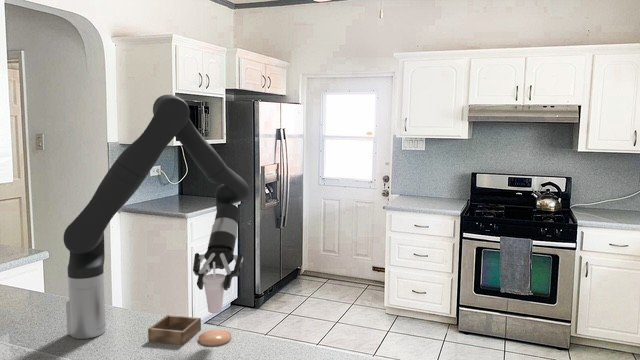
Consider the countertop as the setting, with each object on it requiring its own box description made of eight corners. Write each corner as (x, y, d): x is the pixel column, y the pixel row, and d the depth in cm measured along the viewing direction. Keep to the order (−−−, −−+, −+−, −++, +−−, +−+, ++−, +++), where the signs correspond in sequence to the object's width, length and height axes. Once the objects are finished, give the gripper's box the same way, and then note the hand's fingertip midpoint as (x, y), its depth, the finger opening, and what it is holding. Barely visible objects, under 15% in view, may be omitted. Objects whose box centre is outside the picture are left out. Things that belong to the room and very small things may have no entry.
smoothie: (203, 316, 135) (202, 265, 134) (202, 307, 142) (201, 259, 140) (227, 313, 137) (226, 263, 136) (225, 305, 143) (224, 257, 142)
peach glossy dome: (192, 344, 137) (192, 341, 136) (207, 331, 145) (207, 328, 145) (223, 347, 135) (223, 344, 135) (236, 333, 143) (236, 331, 143)
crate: (148, 341, 138) (148, 328, 138) (167, 326, 149) (167, 315, 148) (183, 344, 136) (183, 332, 136) (200, 329, 146) (200, 318, 146)
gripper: (196, 229, 145) (183, 281, 135) (245, 230, 144) (236, 283, 133) (202, 243, 151) (190, 294, 140) (249, 244, 150) (241, 295, 139)
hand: (212, 288), depth 137 cm, fingers closed on smoothie, 6 cm apart
